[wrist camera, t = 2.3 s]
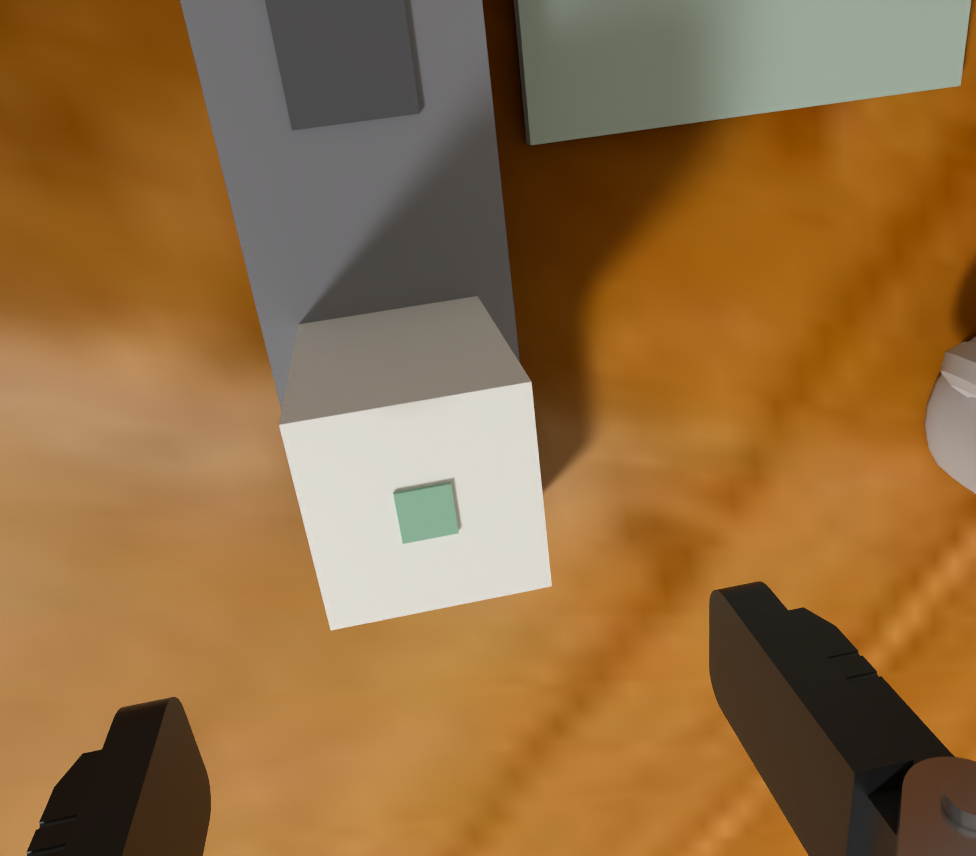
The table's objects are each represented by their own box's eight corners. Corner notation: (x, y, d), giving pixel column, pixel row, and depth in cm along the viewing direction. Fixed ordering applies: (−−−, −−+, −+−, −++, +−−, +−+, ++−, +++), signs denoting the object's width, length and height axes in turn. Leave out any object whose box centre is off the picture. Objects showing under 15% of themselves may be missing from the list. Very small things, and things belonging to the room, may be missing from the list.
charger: (301, 307, 23) (278, 426, 15) (468, 281, 24) (532, 383, 15) (334, 457, 25) (330, 633, 17) (487, 430, 26) (552, 588, 18)
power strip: (-39, -1009, 14) (-182, -1422, 10) (346, -1003, 15) (347, -1387, 11) (332, 551, 28) (330, 625, 24) (520, 516, 29) (547, 582, 25)
